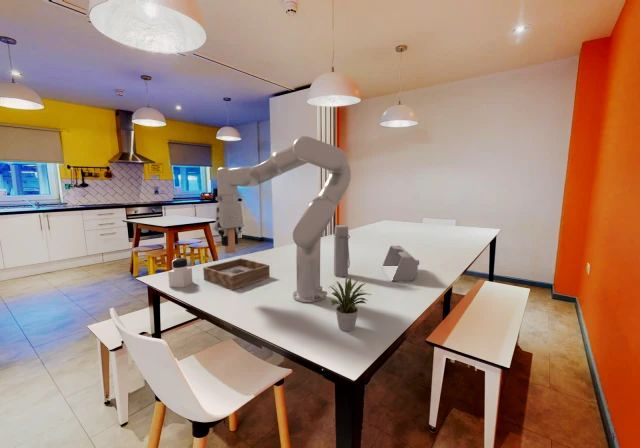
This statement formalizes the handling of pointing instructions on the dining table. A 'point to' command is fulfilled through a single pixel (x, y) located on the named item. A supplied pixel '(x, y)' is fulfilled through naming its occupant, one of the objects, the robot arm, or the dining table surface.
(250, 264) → the open box
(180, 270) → the medicine bottle
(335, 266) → the water bottle
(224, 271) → the bore plate
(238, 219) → the robot arm
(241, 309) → the dining table surface
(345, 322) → the house plant
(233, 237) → the peg
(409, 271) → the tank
